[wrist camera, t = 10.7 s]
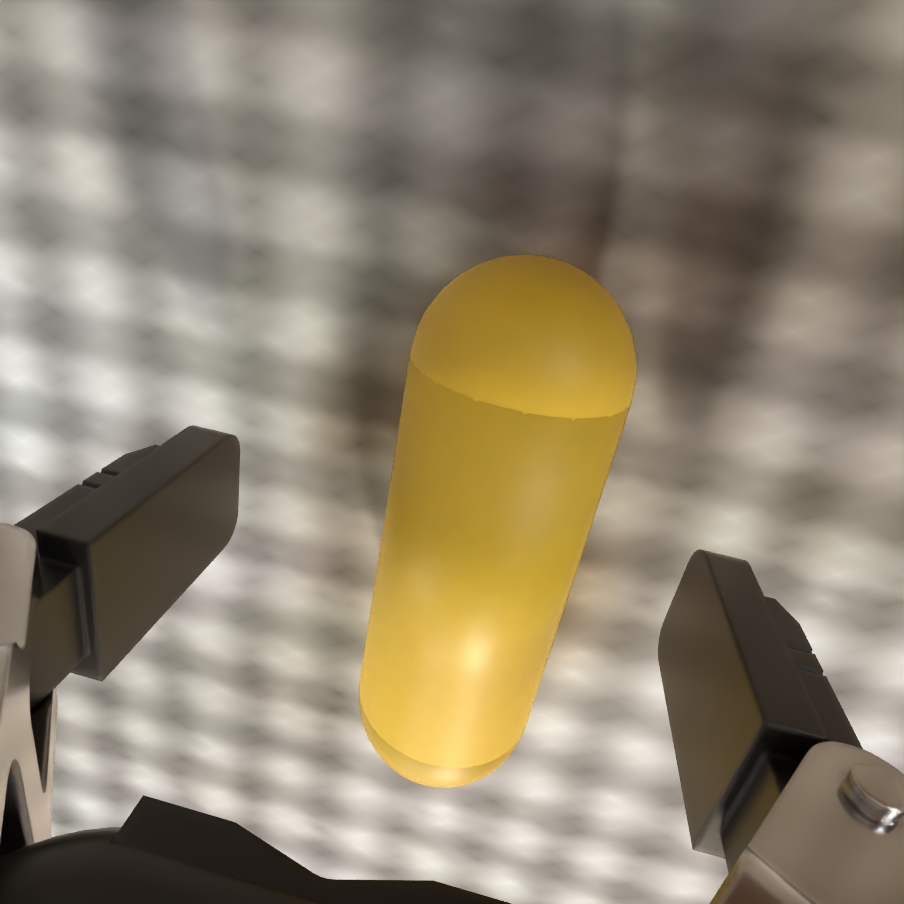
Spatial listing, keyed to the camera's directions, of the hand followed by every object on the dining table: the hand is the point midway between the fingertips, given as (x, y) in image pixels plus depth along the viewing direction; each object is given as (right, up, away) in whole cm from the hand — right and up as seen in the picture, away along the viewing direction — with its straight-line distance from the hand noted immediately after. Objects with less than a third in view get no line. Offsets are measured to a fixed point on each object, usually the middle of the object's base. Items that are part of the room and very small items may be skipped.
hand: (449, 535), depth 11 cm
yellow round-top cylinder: (0, +1, +1) cm, 1 cm away
